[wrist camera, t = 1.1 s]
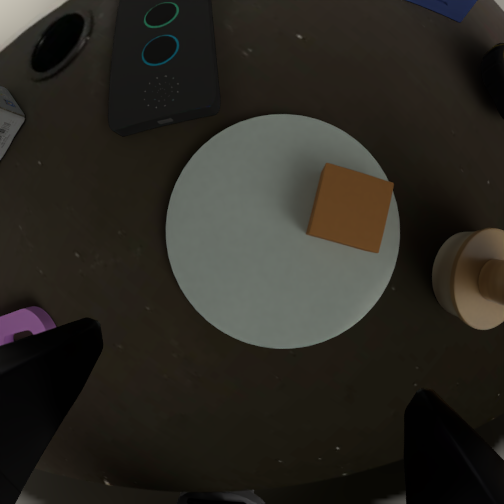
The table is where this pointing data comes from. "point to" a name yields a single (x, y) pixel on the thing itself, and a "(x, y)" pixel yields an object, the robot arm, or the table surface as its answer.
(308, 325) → the plate
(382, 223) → the orange square block
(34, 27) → the table surface
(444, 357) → the table surface
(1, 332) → the bracket
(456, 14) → the walkman
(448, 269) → the dish brush
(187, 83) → the smart home device
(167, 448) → the table surface
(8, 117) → the hard drive box
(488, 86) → the tape measure
